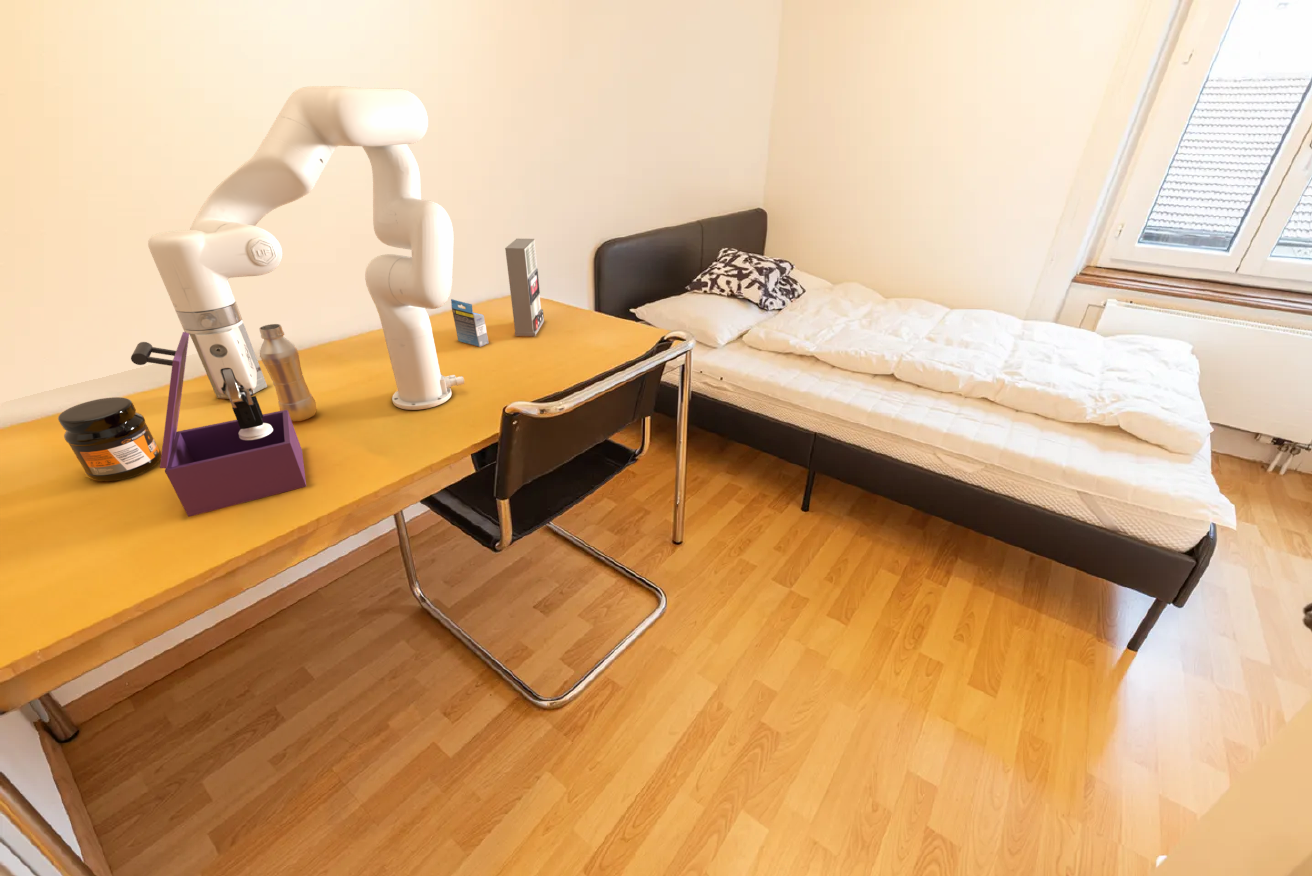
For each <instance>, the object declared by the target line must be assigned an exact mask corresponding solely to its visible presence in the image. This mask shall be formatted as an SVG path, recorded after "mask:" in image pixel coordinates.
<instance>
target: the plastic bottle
mask: <svg viewBox="0 0 1312 876" xmlns="http://www.w3.org/2000/svg"><path fill="white" fill-rule="evenodd" d="M259 333H260V338H261V339H262V340H263V342H262V344H261V346H260V349H259V358H260V361H261V362H262V364H263V365H264V367H265V369H266V371H267V372H268V374H269V377H270V379H271V381H272V383H273V386H274V388H275V389H274V390H275V393H276V397H277V401H278V408H279V411H283V410H288V413H289V415H290V418H291V421H292V422H301V421H305V420H308V419H310V418H312V417H314V416H315V415H316V413H317V410H318V408H317V402H316V400H315V398H314V396H313V395H312V393H311V392H310V389H309V388H308V384H307V383H306V381H305V378H304V374H303V370H302V367H301V361H300V355H299V350H298V348H297V346H295V344H294V343H293V342H291V341H290V340H289V339H287V338H285V336H284V335H285V331H284V330H283V326H282V325H281V324H279V323H271V324H265V325H262V326H261V327H259Z"/></svg>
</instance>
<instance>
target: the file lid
mask: <svg viewBox="0 0 1312 876" xmlns="http://www.w3.org/2000/svg"><path fill="white" fill-rule="evenodd" d="M189 339H190V334H189V333H186V332H184V331H182V334H181V337H180V339H179V342H178V344H177V348H176V349H175V350H174V349H167V348H161V347H155V346H153V345H152V343H149V342H147V341H140V342H138V343H137V345H136V347H135V348H134V351H133V352H132V354H131V356H130V360H131V362H132V363H133V364H135V365H137V366H143V365H146V364H147V363H149V364H157V365H164V366H169V367H171V373H170V381H169V388H168V389H169V390H168V397H167V406H166V414H165V423H164V430H163V437H162V438H163V439H162V446H161V447H162V448H161V459H160V463H159V464H160V465H159V468H160V469H166V468H167V466H168V462H169V458H170V454H171V451H172V447H173V443H174V439H175V436H176V432H177V431H178V425H179V418H180V409H181V403H182V402H181V401H182V394H183V393H182V392H183V387H184V378H185V371H186V370H185V369H186V364H187V363H186V362H187V355H188V354H187V353H188V348H189V347H188V346H189ZM152 354H159V355H164V356H172V357H173V359H167V358H160V357H154V356H151V355H152Z"/></svg>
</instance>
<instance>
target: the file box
mask: <svg viewBox="0 0 1312 876" xmlns="http://www.w3.org/2000/svg"><path fill="white" fill-rule="evenodd" d="M262 414H263V413H262ZM262 421H263V423H267V424H270V425H271V426H272V428H273V431H272V433H270V434H269V435H267V436H265V437H263V438H260V439H255V440H242V439H240V438H239V434H238V433H239V431H240V430H241V428H240V426H239V424H238V421H237V419H233V420H228V421H224V422H223V421H222V422H218V423H213V424H208V425H203V426H198V427H193V428H188V429H183V430H177V432H176V436H175V439H174V443H173V447H172V451H171V454H170V458H169V462H168V466H167V468H164V473H165V474H166V476H167V478H168V480H169V482H170V484H171V486H172V489H174V492H175V494H176V496H177V498H178V499H179V501H180V504H181V505H182V507H183V509H184V512H185V513H186V515H187V517H193V516H198V515H201V514H204V513H208V512H213V511H217V510H220V509H224V508H228V507H232V506H236V505H239V504H244V503H247V502H248V503H249V502H250V501H255V500H259V499H264V498H267V497H271V496H274V495H278V494H283V493H286V492H287V493H288V492H290V491H294V490H299V489H303V488H306V487H307V480H306V471H305V465H304V463H305V462H304V455H303V454H304V453H303V449H302V446H301V444H300V441H299V438H298V435H297V431H296V429H295V427H294V424H293V421H291V418H290V415H289V413H288V410H283V411H280V410H278V411H273V412H269V413H268V412H267V413H264V414H263V418H262Z"/></svg>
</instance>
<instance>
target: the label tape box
mask: <svg viewBox="0 0 1312 876" xmlns="http://www.w3.org/2000/svg"><path fill="white" fill-rule="evenodd" d="M450 303H451V305H450V306H451V312H452V316H453V320H454V326H455V332H456V336H457V341H458V342H460V343H463V344H468V345H471V346H475V347H478V348H481V347H484V346H485V345H488V344H489V343H490V342H489V337H488V332H487V326H486V320H485V315H484V314H482V313H478V312H477V313H476V312H474V310H473V304H472V303H469V302H464V301H461V300H457V299H453V298H451V299H450ZM460 306H462V307H460ZM463 307H464V308H463Z"/></svg>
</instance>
